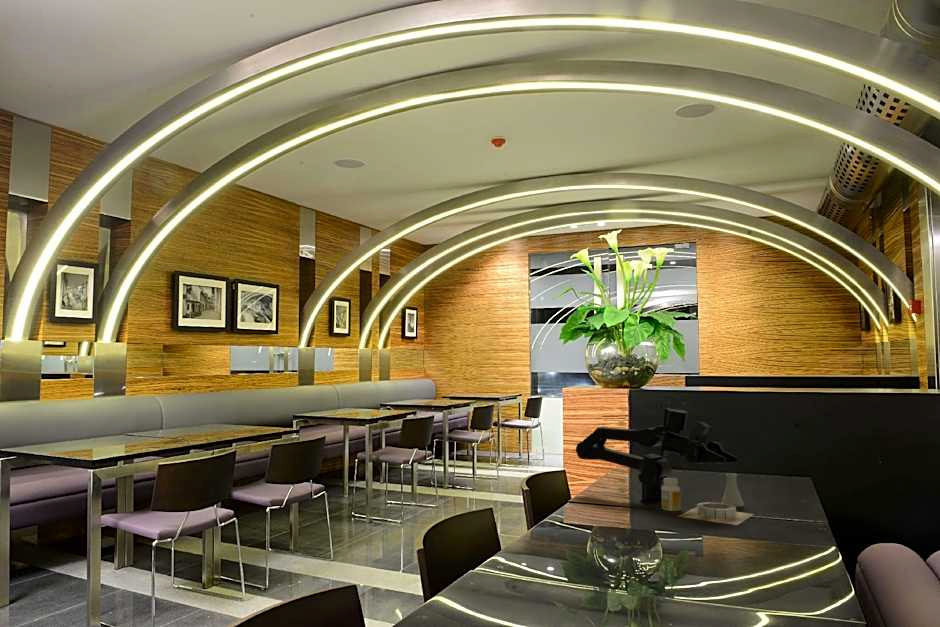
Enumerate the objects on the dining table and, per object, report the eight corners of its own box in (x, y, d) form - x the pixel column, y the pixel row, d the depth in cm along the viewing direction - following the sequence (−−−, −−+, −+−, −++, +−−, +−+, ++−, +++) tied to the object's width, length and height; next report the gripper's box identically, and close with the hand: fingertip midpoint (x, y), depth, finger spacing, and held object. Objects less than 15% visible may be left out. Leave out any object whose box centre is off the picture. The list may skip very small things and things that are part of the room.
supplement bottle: (681, 511, 196) (680, 477, 196) (680, 515, 191) (679, 480, 191) (662, 509, 197) (661, 476, 198) (661, 513, 192) (660, 479, 193)
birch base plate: (677, 519, 185) (677, 516, 185) (697, 509, 197) (697, 506, 197) (737, 528, 175) (737, 524, 175) (754, 517, 187) (754, 514, 188)
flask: (741, 505, 204) (740, 472, 205) (748, 510, 197) (747, 476, 198) (716, 504, 205) (716, 471, 206) (723, 510, 198) (722, 475, 198)
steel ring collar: (692, 515, 185) (692, 506, 185) (704, 509, 193) (704, 500, 193) (729, 521, 179) (728, 511, 179) (740, 514, 187) (739, 505, 187)
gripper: (673, 418, 197) (724, 431, 186) (699, 421, 210) (749, 434, 200) (665, 455, 197) (716, 470, 186) (692, 455, 210) (741, 470, 199)
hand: (731, 460), depth 193 cm, fingers open, 9 cm apart
